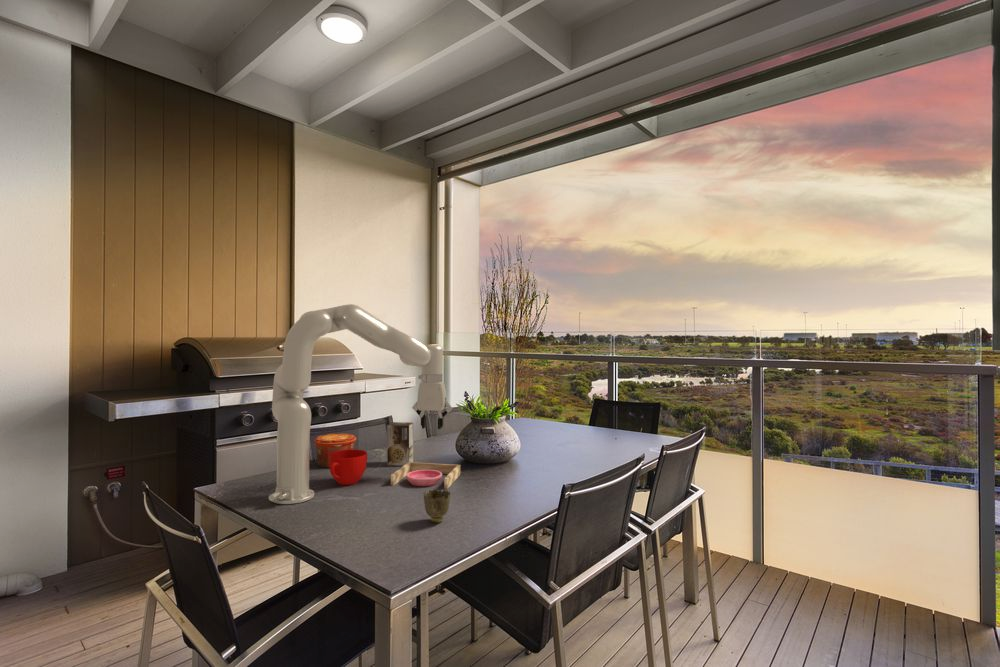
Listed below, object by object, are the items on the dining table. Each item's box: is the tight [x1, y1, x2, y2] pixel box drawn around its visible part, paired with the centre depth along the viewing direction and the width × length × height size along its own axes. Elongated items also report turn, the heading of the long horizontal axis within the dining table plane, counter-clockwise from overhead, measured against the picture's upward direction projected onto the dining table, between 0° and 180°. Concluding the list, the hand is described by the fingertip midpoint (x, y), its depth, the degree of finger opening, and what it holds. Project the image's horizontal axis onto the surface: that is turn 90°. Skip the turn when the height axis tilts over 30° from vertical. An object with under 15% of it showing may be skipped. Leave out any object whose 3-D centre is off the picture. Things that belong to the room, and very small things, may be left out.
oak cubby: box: [390, 461, 461, 490], centre depth 181 cm, size 18×20×4 cm
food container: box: [313, 433, 357, 469], centre depth 201 cm, size 16×16×11 cm
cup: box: [423, 488, 451, 524], centre depth 142 cm, size 8×7×8 cm
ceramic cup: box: [329, 449, 368, 486], centre depth 176 cm, size 13×17×10 cm
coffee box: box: [386, 421, 414, 467], centre depth 203 cm, size 9×6×16 cm
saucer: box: [405, 470, 443, 487], centre depth 179 cm, size 12×12×3 cm
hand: (432, 427), depth 187 cm, fingers open, 5 cm apart
